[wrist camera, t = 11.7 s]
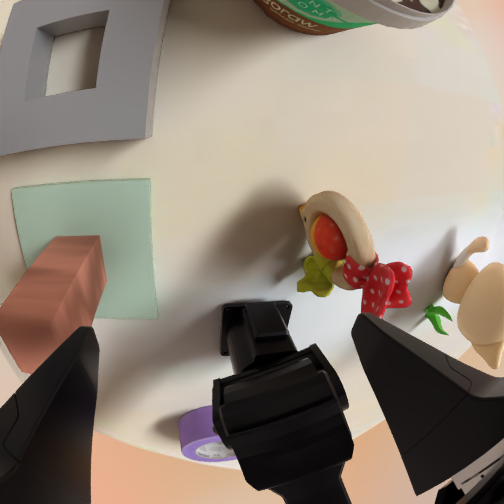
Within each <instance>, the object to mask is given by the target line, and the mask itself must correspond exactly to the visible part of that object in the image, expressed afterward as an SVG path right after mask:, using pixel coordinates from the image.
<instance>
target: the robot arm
mask: <svg viewBox="0 0 504 504" xmlns="http://www.w3.org/2000/svg"><path fill="white" fill-rule="evenodd" d="M286 306H287V307H286ZM227 309H230V310H228V311H227ZM291 311H292V304H291V302H289V301H278V302H260V303H240V304H226V305H224V306H223V307H222V318H221V336H220V354H221V355H222V356H230V358H231V363H232V367H233V371H234V375H232V376H228V377H225V378H222V379H220V378H218V379H215V380H213V389H212V421H213V427H212V429H213V432H214V433H215V434H216V435H218V436H219V437H220V439H221V440H222V442H223V444H224V445H225V447H226V448H227V449H229V450H233V451H234V453H235V455H236V458H237V460H238V462H239V464H240V467H241V469H242V472H243V475H244V477H245V480H246V482H247V483H248V484H250V485H251V486H252V487H253V488H255V489H256V490H258V491H261V490H265V489H269V490H271V491H273V492H274V493H276V494H278V495H280V496H281V497H282V498H283V499H284V501H285V503H286V504H352V503H351V501H350V499H349V496H348V494H347V491H346V488H345V486H344V484H343V481H342V479H341V474H342V471H343V467H344V464H345V462H346V461H348V460H350V459H351V458H352V454H353V449H354V443H353V440H352V435H351V432H350V429H349V427H348V424H347V421H346V418H345V416H344V413H343V411H344V410H346V409H348V408H349V403H348V399H347V395H346V392H345V390H344V387H343V385H342V383H341V381H340V378H339V377H338V375H337V373H336V371H335V370H334V368H333V367H332V366H331V364H330V363H329V361H328V360H327V359H326V357H325V356H324V354H323V353H322V352H321V350H320V349H319V347H318V346H317V345H316V343H315V344H312V345H310V346H309V347H308V348H306V349H303V350H301V351H297V349H296V347H295V344H294V342H293V340H292V338H291V336H290V334H289V331H288V329H287V327H288V323H289V319H290V315H291ZM351 335H352V338H353V341H354V344H355V347H356V349H357V352H358V355H359V358H360V361H361V364H362V366H363V369H364V371H365V374H366V376H367V378H368V380H369V382H370V385H371V387H372V389H373V391H374V393H375V396H376V398H377V400H378V402H379V405H380V407H381V409H382V412H383V414H384V416H385V418H386V421H387V423H388V425H389V428H390V430H391V433H392V435H393V437H394V440H395V442H396V445H397V447H398V449H399V452H400V455H401V457H402V460H403V462H404V465H405V468H406V470H407V473H408V476H409V478H410V481H411V484H412V486H413V489H414V492H415V494H416V496H418V495H420V494H422V493H424V492H426V491H428V490H430V489H431V488H433V487H435V486H437V485H439V484H440V483H442V482H444V481H445V480H447V479H449V478H450V477H451V478H452V480H451V481H449V482H448V483H447V484H446V485H445V486H443V487H442V488H441V489H439V490H438V493H437V497H436V500H435V504H504V377H502V378H499V377H494V376H491V375H489V374H486V373H484V372H482V371H480V370H477V369H475V368H473V367H471V366H468V365H466V364H464V363H462V362H460V361H458V360H456V359H454V358H453V357H451V356H449V355H447V354H445V353H443V352H441V351H440V350H438V349H436V348H434V347H432V346H430V345H429V344H427V343H425V342H423V341H421V340H419V339H418V338H416V337H414V336H412V335H410V334H408V333H406V332H405V331H403V330H401V329H399V328H397V327H395V326H394V325H392V324H390V323H388V322H386V321H384V320H383V319H381V318H379V317H377V316H375V315H373V314H371V313H369V312H366V313H360V314H359V315H358V316H357V318H356V321H355V323H354V326H353V328H352V331H351ZM224 351H225V352H224ZM99 352H100V350H99V344H98V341H97V338H96V335H95V332H94V329H93V328H92V327H91V326H80V327H78V328H77V329H76V330H75V331H74V332H73V333H72V334H71V335H70V336H69V337H68V338H67V339H66V340H65V341H64V342H63V343H62V344H61V345H60V346H59V347H58V348H57V349H56V350H55V351H54V352H53V353H52V354H51V355H50V356H49V357H48V358H47V359H46V360H45V361H44V362H43V363H42V364H41V365H40V366H39V367H38V368H37V369H36V370H35V371H34V372H33V373H32V374H31V375H30V377H29V378H28V379H27V380H26V381H25V382H24V383H23V384H22V385H21V386H20V387H19V388H18V390H17V391H16V392H15V393H16V394H15V393H14V394H13V395H12V396H11V397H10V398H9V400H8V401H7V402H6V403H5V404H4V405H3V406H2V407H1V408H0V504H91V452H92V436H93V425H94V416H95V407H96V400H97V388H98V367H99Z"/></svg>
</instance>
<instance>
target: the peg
mask: <svg viewBox="0 0 504 504" xmlns="http://www.w3.org/2000/svg"><path fill="white" fill-rule="evenodd" d="M106 283H107V277H106V272H105V266H104V260H103V254H102V247H101V240H100V235H86V236H56V237H55V238H54V239H53V240H52V241H51V242H50V243H49V245H48V246H47V247H46V248H45V249H44V250H43V252H42V253H41V254H40V255H39V256H38V258H37V259H36V260H35V261H34V262H33V264H32V265H31V266H30V267H29V269H28V270H27V271H26V273H25V274H24V275H23V277H22V278H21V279H20V281H19V282H18V283H17V285H16V286H15V287H14V289H13V290H12V292H11V293H10V294H9V296H8V297H7V299H6V300H5V302H4V303H3V305H2V306H1V308H0V335H1V337H2V339H3V341H4V343H5V345H6V346H7V348H8V350H9V352H10V353H11V355H12V357H13V358H14V360H15V362H16V363H17V365H18V367H19V368H20V370H21V371H22V372H25V373H29V374H32V373H33V372H34V371H35V370H36V369H37V368H38V367H39V366H40V365H41V364H42V363H43V362H44V361H45V360H46V359H47V358H48V357H49V356H50V355H51V354H52V353H53V352H54V351H55V350H56V349H57V348H58V347H59V346H60V345H61V344H62V343H63V342H64V341H65V340H66V339H67V338H68V337H69V336H70V335H71V334H72V333H73V332H74V331H75V330H76V329H77V328H78V327H80V326H91V325H92V322H93V319H94V316H95V313H96V310H97V307H98V305H99V302H100V299H101V296H102V293H103V291H104V288H105V285H106Z"/></svg>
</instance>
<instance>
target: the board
mask: <svg viewBox="0 0 504 504" xmlns="http://www.w3.org/2000/svg"><path fill="white" fill-rule="evenodd" d="M150 180H151V178H142V179H110V180H90V181H75V182H63V183H52V184H42V185H33V186H24V187H16V188H14V189H12V190H11V192H12V200H13V207H14V213H15V219H16V225H17V230H18V235H19V240H20V244H21V248H22V253H23V257H24V260H25V264H26V268H27V270H28V269H29V267H30V266H31V265H32V264H33V262H34V261H35V260H36V259H37V258H38V256H39V255H40V254H41V253H42V252H43V250H44V249H45V248H46V247H47V246H48V245H49V243H50V242H51V241H52V240H53V239H54V238H55V237H56V236H86V235H100V240H101V247H102V254H103V260H104V266H105V272H106V277H107V283H106V285H105V288H104V291H103V293H102V296H101V299H100V302H99V305H98V307H97V310H96V313H95V316H94V318H111V319H158V311H157V302H156V292H155V281H154V269H153V255H152V236H151V200H150Z"/></svg>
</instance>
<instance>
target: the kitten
mask: <svg viewBox="0 0 504 504" xmlns="http://www.w3.org/2000/svg"><path fill="white" fill-rule="evenodd" d="M488 248H489V240H488V239H487V238H486V237H479V238H477V239H475V240H474V241H473V242H472V243H471V244H470V245H468V246H467V247H466V248H465V249H464V250H463V251H462V252H461V253H460V254H459V256H458V257H457V259H456V261H455V263H454V265H453V267H452V268H451V270H450V271H449V273H448V275H447V277H446V279H445V282H444V286H443V295H444V297H445V298H446V299H447V300H449V301H450V302H453V303H457V304H460V306H459V310H458V315H457V324H458V328H459V330H460V332H461V333H462V334H463V335H464V337H465V338H466V339H468V340H469V341H470V342H471V343H472V346H473V347H474V349H475V351H476V352H477V353H478V354H479V355H480V356H481V357H483V359H484V360H485V361H486V362H487V364H488V365H489V366H490V367H491V368H493V369H497V368H498V367H499V364H500V361H501V357H502V354H503V350H504V265H503V264H501V263H498V262H494V263H491V264H489V265H487V266H486V267H484V268H483V269H482V270H481V271H480V272H478V269H477V268H476V266H475V265H474V264H473V263H472V262H471V261H470V260H468V259H469V257H470V256H471V255H472V254H473V253H476V252H485V251H487V250H488ZM426 313H427V315H426V317H427V318H428V319H429V320H430V321H431V323H432V324H433V326H434V328H435V330H436V331H437V332H438V333H440V334H444V335H448V334H447V333H446V332H445V331H444V330H443V329H442V326H441V320H440V317H439V315H442V316H444V317H446V318H448V319H449V320H451V321H452V319H451V316H450V315H449V313H448V312H447V311H446V310H445V309H444V308H443V307H441V306H437V307H434V306H433V305H431V306H430V307H429V308H426ZM438 314H439V315H438Z"/></svg>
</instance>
